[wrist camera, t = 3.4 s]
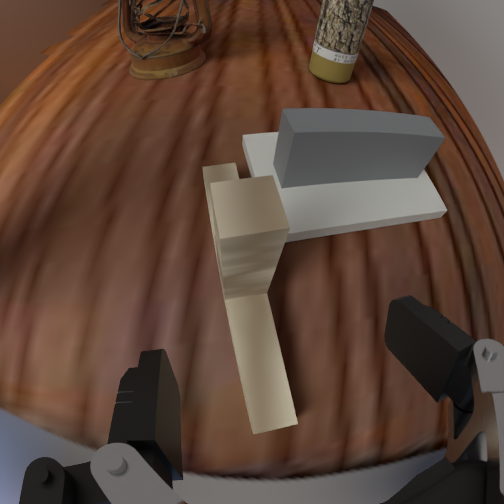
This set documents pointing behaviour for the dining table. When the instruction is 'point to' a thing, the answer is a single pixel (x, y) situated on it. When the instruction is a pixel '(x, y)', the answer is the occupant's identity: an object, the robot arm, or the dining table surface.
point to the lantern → (164, 39)
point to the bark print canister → (339, 38)
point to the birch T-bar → (251, 286)
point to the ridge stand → (348, 169)
